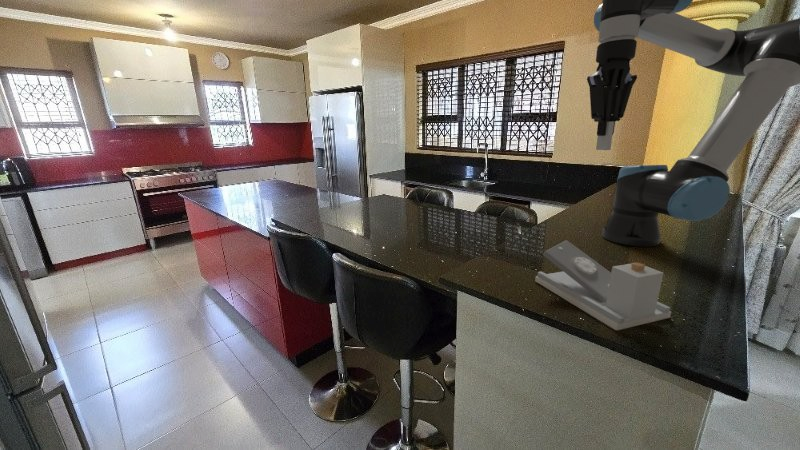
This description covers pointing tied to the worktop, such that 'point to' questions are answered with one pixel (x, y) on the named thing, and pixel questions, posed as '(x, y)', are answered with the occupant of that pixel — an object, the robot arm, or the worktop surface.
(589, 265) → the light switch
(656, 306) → the rail board
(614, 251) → the worktop surface
